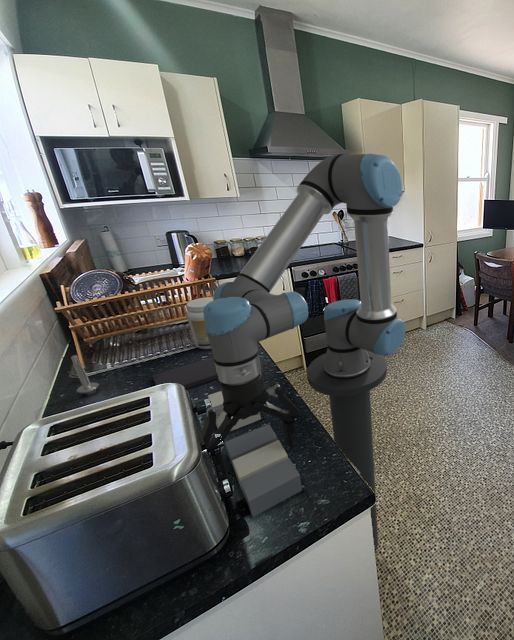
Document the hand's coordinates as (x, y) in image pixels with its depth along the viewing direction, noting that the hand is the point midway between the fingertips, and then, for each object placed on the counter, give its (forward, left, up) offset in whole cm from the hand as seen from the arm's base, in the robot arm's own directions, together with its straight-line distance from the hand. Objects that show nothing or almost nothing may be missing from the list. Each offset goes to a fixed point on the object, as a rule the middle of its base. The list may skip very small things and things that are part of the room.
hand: (258, 458), depth 76 cm
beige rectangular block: (0, -22, -5) cm, 23 cm away
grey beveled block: (0, +7, -5) cm, 8 cm away
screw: (+31, -62, -5) cm, 69 cm away
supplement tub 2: (-4, -76, -5) cm, 76 cm away
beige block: (0, -22, 0) cm, 22 cm away
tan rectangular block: (0, 0, -5) cm, 5 cm away
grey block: (0, -7, -5) cm, 8 cm away
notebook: (+5, -54, -5) cm, 54 cm away
